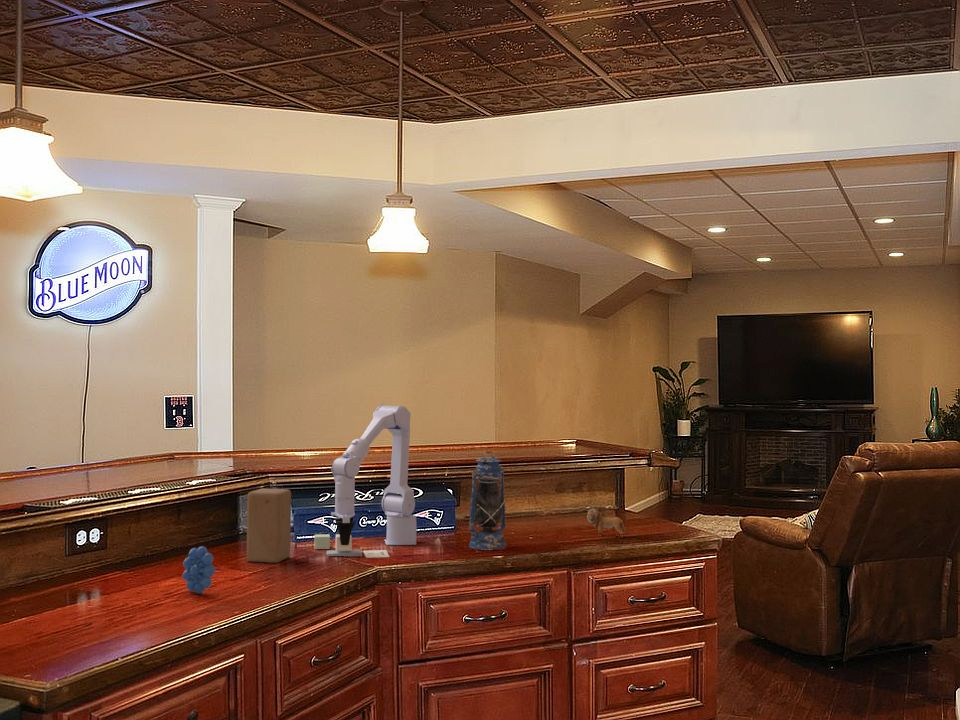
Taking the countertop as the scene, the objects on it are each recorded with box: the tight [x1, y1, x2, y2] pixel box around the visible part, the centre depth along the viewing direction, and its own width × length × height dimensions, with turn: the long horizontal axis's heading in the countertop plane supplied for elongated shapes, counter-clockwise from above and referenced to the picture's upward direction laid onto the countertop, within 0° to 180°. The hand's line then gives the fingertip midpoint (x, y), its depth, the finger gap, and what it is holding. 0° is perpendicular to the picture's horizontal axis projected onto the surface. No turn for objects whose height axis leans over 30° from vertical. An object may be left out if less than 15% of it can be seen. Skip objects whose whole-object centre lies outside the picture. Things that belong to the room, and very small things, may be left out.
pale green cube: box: [314, 533, 331, 550], centre depth 307 cm, size 4×4×4 cm
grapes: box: [182, 545, 216, 595], centre depth 248 cm, size 12×7×12 cm, turn 52°
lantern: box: [468, 451, 507, 550], centre depth 312 cm, size 15×12×30 cm
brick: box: [335, 533, 353, 551], centre depth 297 cm, size 4×4×4 cm
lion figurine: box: [586, 508, 628, 535], centre depth 334 cm, size 15×5×9 cm, turn 70°
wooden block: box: [246, 488, 292, 564], centre depth 289 cm, size 10×10×20 cm
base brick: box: [326, 549, 363, 558], centre depth 297 cm, size 10×5×2 cm, turn 103°
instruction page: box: [362, 549, 391, 559], centre depth 299 cm, size 7×10×1 cm
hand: (344, 543), depth 297 cm, fingers closed on brick, 4 cm apart
